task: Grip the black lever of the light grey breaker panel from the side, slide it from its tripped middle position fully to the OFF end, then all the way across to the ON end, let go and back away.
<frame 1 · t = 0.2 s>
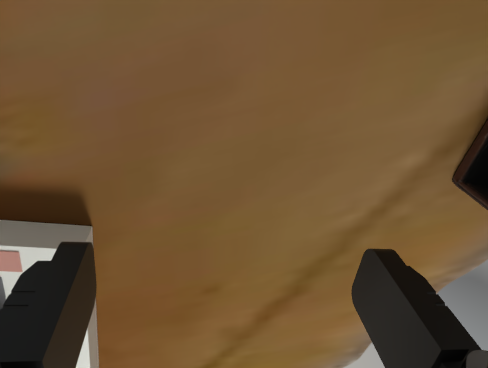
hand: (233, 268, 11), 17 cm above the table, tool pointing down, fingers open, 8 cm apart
breaker panel: (17, 305, 34), on the table
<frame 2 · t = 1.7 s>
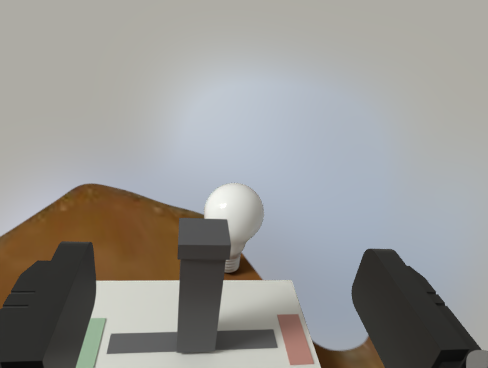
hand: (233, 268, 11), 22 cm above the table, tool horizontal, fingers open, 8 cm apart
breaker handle: (199, 289, 27), point 9 cm above the table, slide at 0.0 cm
breaker panel: (193, 364, 31), on the table
lightbulb: (226, 270, 43), on the table
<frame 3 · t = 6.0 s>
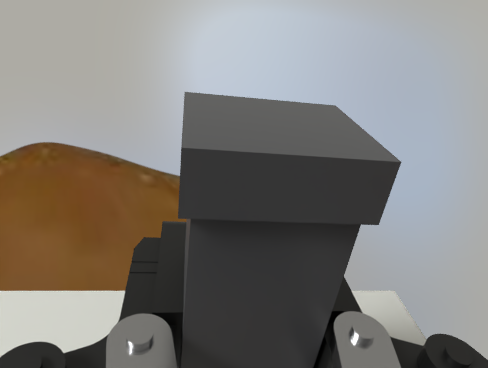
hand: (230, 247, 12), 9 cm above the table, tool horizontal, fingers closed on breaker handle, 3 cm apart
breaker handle: (241, 324, 9), point 9 cm above the table, slide at 0.0 cm, touching gripper
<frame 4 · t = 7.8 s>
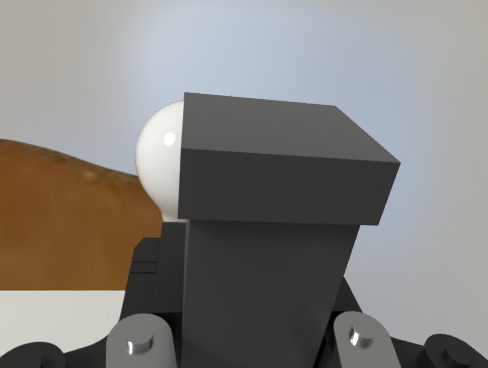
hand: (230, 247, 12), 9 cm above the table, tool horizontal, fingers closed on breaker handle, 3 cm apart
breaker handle: (240, 325, 9), point 9 cm above the table, slide at -4.9 cm, touching gripper
lightbulb: (187, 270, 24), on the table
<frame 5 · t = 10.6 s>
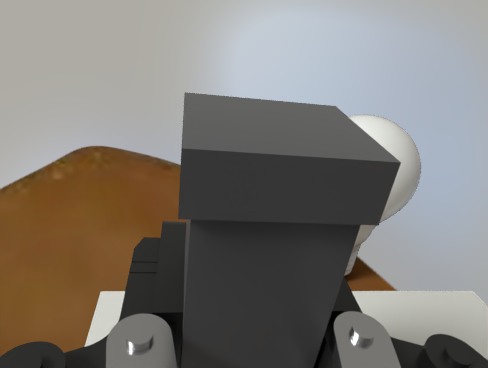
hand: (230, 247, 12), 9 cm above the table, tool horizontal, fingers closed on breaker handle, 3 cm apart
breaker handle: (241, 325, 9), point 9 cm above the table, slide at 4.9 cm, touching gripper
lightbulb: (329, 272, 25), on the table
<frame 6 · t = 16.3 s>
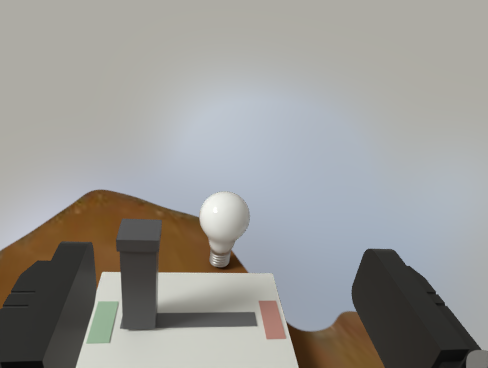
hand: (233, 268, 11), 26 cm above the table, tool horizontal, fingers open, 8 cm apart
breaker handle: (140, 277, 34), point 9 cm above the table, slide at 4.9 cm
breaker panel: (189, 340, 39), on the table
lightbulb: (218, 265, 50), on the table
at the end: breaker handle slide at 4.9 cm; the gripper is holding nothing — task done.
